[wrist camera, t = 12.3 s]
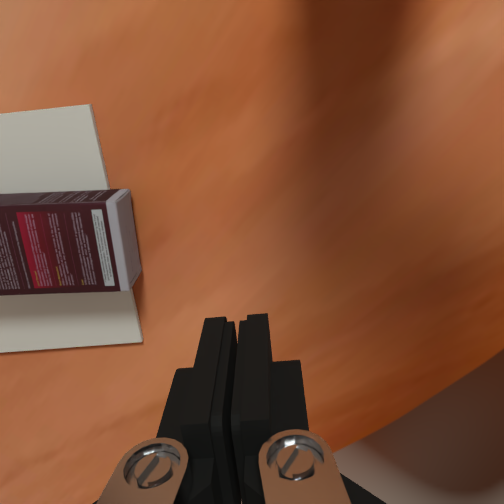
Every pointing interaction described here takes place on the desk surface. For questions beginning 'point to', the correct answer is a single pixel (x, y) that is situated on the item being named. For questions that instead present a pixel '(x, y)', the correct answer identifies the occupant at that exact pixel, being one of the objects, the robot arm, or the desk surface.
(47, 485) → the desk surface
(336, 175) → the desk surface
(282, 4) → the desk surface
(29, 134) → the mat
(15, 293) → the supplement box
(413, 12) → the desk surface
